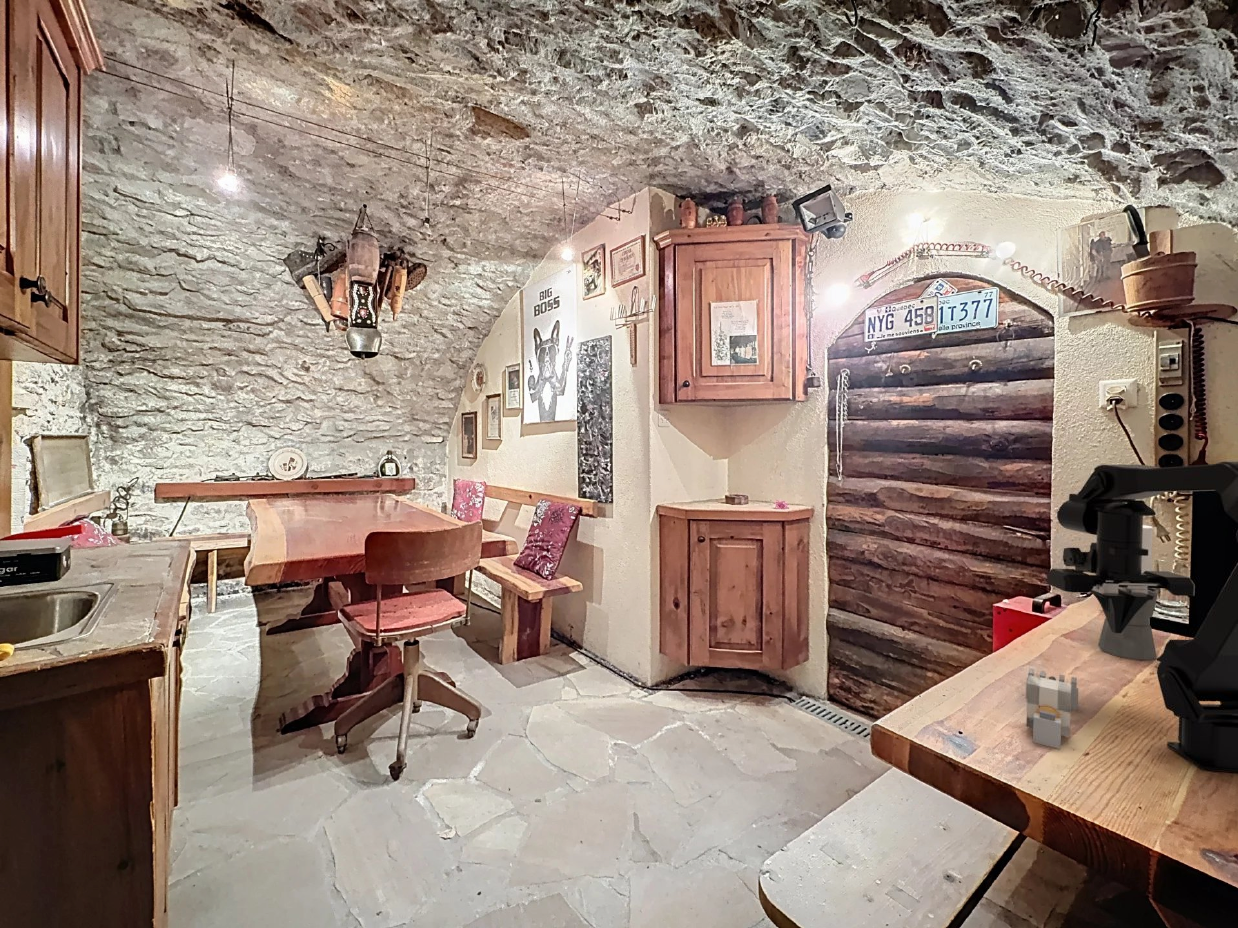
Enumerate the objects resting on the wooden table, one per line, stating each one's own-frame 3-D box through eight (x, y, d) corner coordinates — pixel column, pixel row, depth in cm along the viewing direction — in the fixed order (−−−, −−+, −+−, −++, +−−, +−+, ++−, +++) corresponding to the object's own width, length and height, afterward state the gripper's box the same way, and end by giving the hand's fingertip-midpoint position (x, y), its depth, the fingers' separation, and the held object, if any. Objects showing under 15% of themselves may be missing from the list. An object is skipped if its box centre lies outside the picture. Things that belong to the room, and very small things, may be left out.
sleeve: (1028, 716, 90) (1029, 674, 90) (1069, 726, 87) (1071, 683, 87) (1026, 726, 87) (1027, 683, 87) (1069, 737, 84) (1070, 692, 84)
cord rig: (1027, 693, 100) (1027, 666, 100) (1077, 704, 96) (1078, 676, 96) (1017, 737, 86) (1018, 705, 86) (1077, 753, 81) (1077, 720, 81)
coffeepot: (1178, 665, 112) (1182, 575, 111) (1127, 664, 113) (1130, 574, 112) (1118, 638, 128) (1120, 558, 127) (1073, 637, 128) (1075, 558, 128)
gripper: (1146, 533, 101) (1143, 619, 102) (1030, 531, 104) (1028, 615, 105) (1199, 544, 90) (1195, 641, 91) (1068, 542, 93) (1065, 636, 94)
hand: (1116, 632), depth 95 cm, fingers closed
